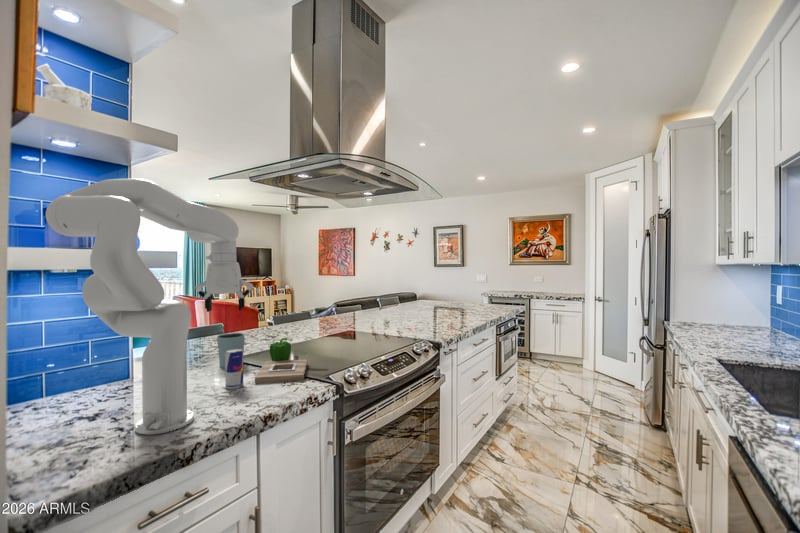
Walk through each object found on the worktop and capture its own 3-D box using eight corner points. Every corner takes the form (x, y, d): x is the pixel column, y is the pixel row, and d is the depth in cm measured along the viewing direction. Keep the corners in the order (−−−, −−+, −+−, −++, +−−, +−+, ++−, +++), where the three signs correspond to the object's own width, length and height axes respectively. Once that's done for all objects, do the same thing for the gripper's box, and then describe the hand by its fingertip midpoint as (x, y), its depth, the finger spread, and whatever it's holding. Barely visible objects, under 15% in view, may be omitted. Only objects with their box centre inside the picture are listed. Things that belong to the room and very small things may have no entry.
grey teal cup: (238, 368, 139) (238, 337, 139) (211, 368, 139) (211, 337, 139) (248, 361, 149) (248, 332, 149) (224, 361, 149) (224, 332, 149)
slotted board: (303, 380, 125) (303, 373, 125) (254, 383, 122) (254, 376, 122) (307, 364, 145) (307, 358, 145) (265, 366, 142) (265, 360, 142)
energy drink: (238, 389, 116) (238, 352, 116) (222, 389, 116) (222, 352, 116) (246, 383, 122) (245, 348, 121) (230, 383, 122) (230, 348, 122)
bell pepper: (268, 366, 142) (268, 340, 142) (270, 360, 150) (270, 336, 150) (290, 364, 145) (290, 339, 144) (291, 359, 153) (291, 335, 152)
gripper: (190, 259, 112) (192, 313, 113) (249, 258, 116) (251, 311, 117) (198, 258, 119) (200, 309, 120) (254, 258, 123) (255, 307, 124)
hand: (225, 310), depth 118 cm, fingers open, 9 cm apart
